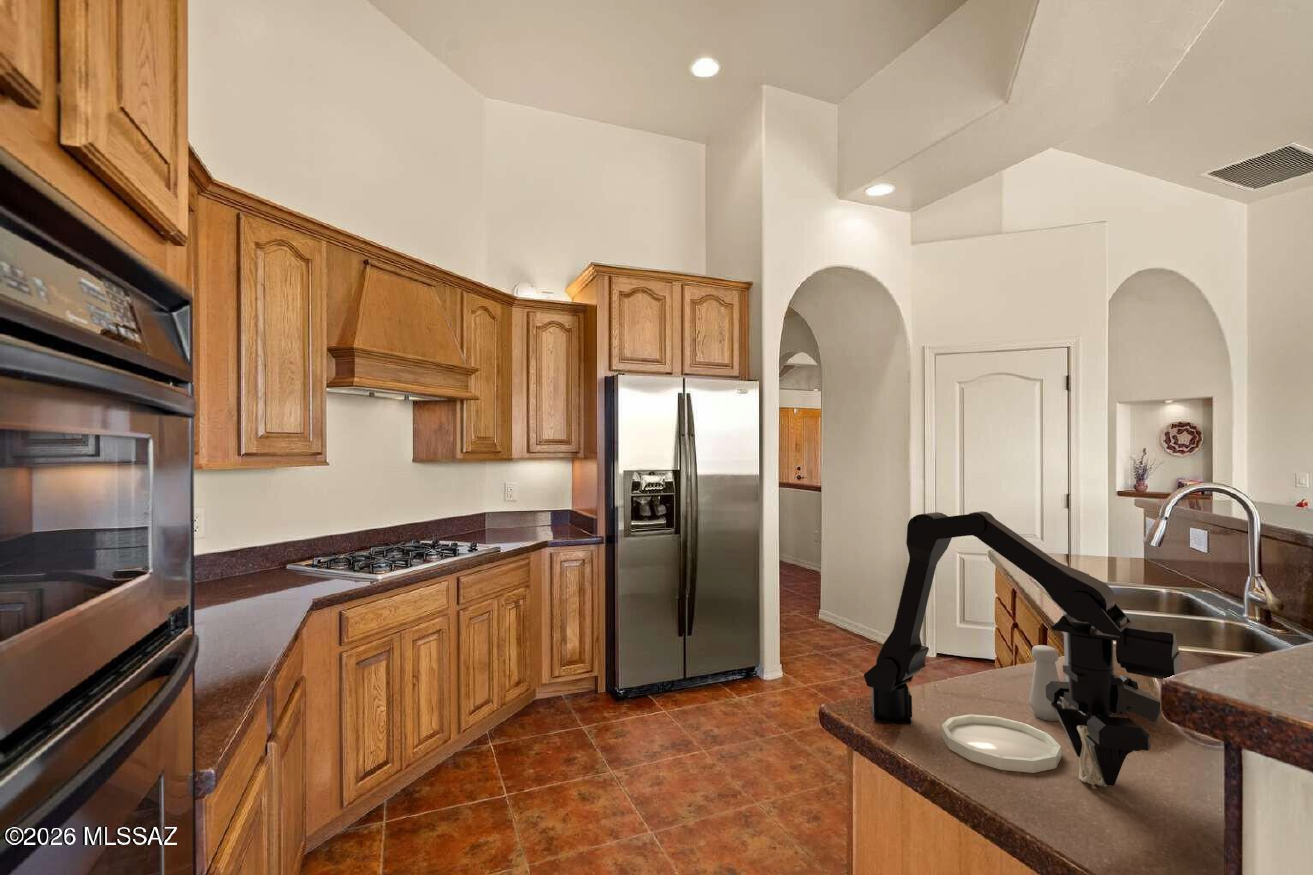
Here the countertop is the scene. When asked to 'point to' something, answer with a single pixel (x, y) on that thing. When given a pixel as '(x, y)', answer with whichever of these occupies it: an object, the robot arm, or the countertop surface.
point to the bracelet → (1085, 752)
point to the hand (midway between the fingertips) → (1095, 770)
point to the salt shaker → (1043, 681)
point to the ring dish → (1001, 743)
